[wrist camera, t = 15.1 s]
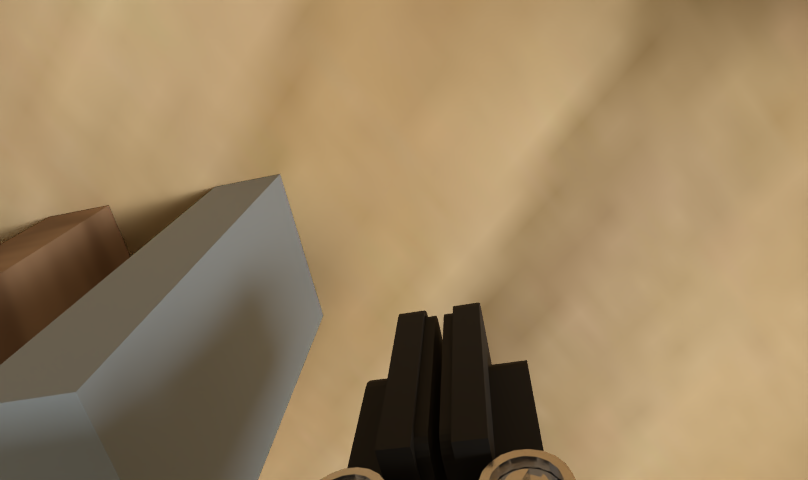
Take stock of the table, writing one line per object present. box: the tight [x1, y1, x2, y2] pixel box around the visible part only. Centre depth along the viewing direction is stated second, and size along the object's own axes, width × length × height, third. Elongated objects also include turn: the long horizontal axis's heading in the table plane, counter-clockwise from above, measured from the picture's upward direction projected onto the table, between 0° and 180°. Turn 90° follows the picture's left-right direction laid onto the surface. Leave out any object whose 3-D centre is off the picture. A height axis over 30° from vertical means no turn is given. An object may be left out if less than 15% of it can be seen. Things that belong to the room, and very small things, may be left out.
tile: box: [0, 174, 323, 480], centre depth 16 cm, size 2×6×12 cm, turn 12°
